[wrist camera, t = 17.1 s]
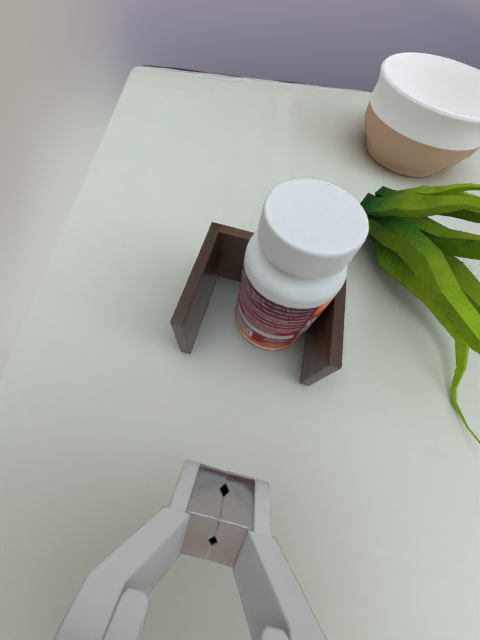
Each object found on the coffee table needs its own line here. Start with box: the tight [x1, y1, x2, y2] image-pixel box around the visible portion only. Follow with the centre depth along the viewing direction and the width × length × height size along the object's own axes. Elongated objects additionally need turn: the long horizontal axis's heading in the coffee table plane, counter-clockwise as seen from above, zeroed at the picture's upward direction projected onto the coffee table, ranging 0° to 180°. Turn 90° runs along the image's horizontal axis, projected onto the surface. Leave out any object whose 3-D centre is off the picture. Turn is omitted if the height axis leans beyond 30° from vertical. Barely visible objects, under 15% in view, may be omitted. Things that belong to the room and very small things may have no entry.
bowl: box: [365, 53, 480, 177], centre depth 32 cm, size 16×16×8 cm
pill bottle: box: [235, 178, 369, 350], centre depth 17 cm, size 6×6×11 cm
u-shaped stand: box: [170, 222, 347, 386], centre depth 19 cm, size 11×9×6 cm
